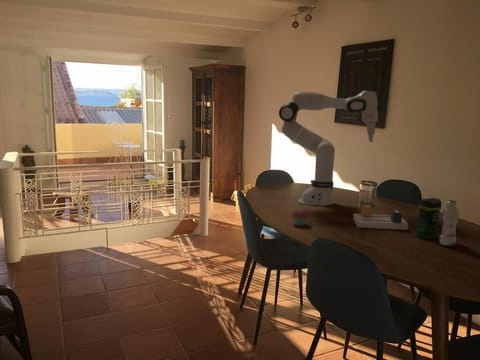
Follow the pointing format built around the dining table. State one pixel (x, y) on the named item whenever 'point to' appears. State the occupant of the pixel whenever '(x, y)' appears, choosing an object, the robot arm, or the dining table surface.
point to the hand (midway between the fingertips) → (370, 140)
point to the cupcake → (300, 217)
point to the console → (379, 222)
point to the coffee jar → (428, 218)
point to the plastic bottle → (449, 224)
